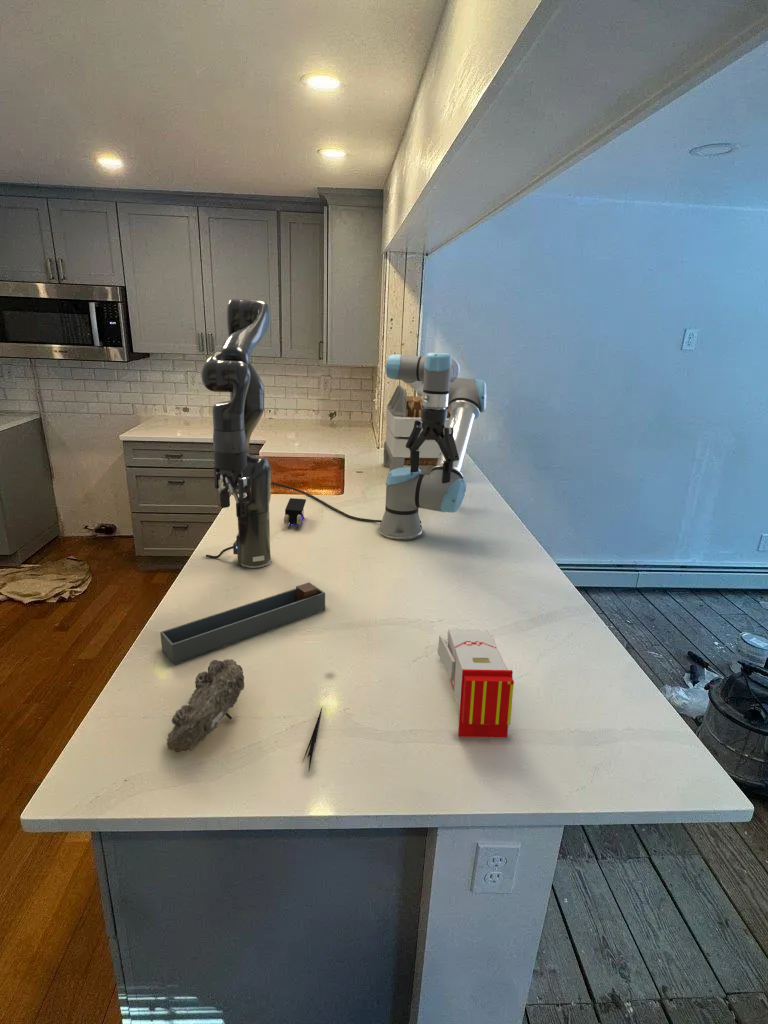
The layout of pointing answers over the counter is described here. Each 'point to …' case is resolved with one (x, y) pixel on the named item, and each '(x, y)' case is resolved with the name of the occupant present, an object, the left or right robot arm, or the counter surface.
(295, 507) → the figurine character
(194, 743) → the fossil
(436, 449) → the white crate
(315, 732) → the feather
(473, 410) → the right robot arm
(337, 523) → the counter surface
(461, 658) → the toy
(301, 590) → the walnut block
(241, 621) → the trough
